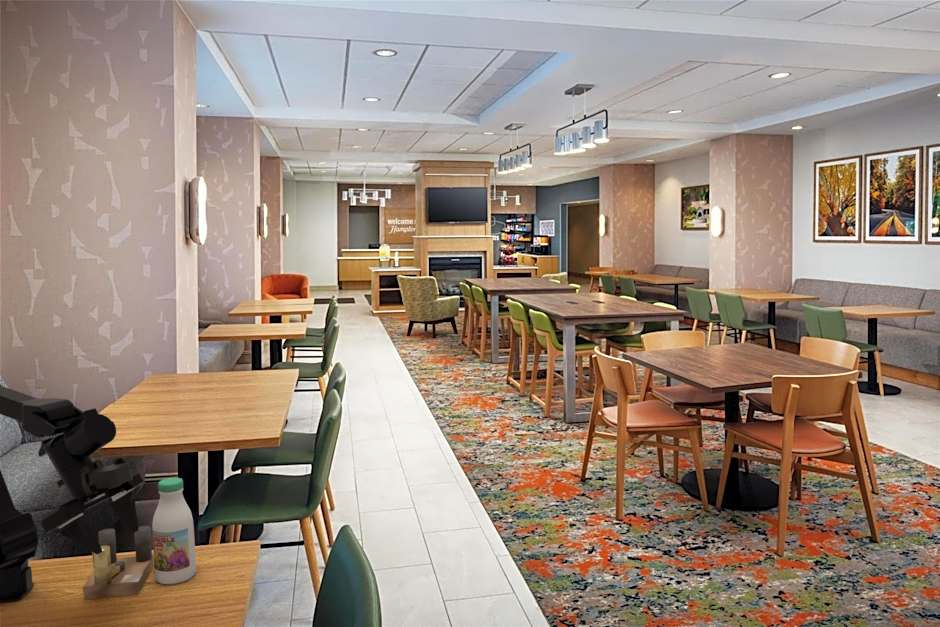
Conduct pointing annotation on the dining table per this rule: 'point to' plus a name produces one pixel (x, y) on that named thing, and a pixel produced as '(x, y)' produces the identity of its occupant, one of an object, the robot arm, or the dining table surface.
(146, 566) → the square plate with pegs
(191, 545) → the milk bottle
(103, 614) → the dining table surface
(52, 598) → the dining table surface
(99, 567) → the gold cylinder with bar
